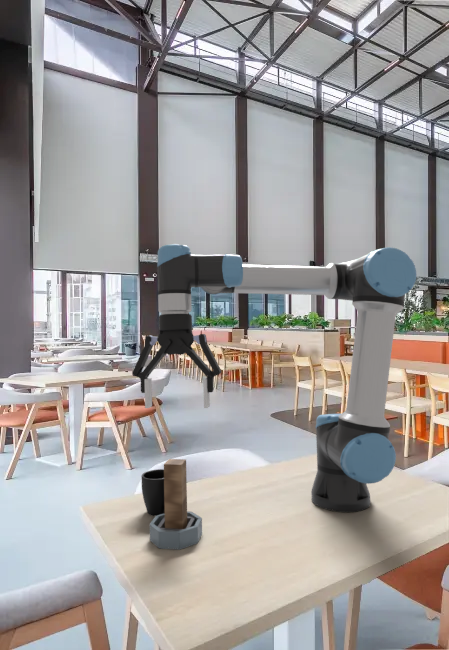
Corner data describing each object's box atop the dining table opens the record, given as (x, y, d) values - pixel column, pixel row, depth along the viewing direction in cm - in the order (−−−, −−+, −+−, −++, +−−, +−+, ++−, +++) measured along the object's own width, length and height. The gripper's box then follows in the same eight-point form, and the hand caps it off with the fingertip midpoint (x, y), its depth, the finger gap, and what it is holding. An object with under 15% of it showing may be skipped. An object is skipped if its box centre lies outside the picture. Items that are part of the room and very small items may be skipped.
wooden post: (187, 530, 96) (186, 459, 97) (182, 538, 92) (181, 464, 93) (170, 529, 97) (169, 458, 97) (165, 537, 93) (163, 464, 93)
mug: (156, 526, 100) (155, 486, 100) (137, 510, 110) (136, 473, 110) (187, 518, 104) (186, 478, 105) (165, 502, 114) (165, 467, 115)
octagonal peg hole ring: (205, 527, 99) (204, 512, 99) (194, 550, 88) (193, 533, 88) (160, 525, 101) (160, 510, 101) (144, 547, 90) (144, 530, 90)
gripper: (231, 312, 99) (234, 404, 98) (129, 316, 102) (131, 404, 102) (226, 310, 91) (229, 410, 90) (116, 314, 95) (118, 410, 94)
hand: (177, 407), depth 96 cm, fingers open, 13 cm apart
